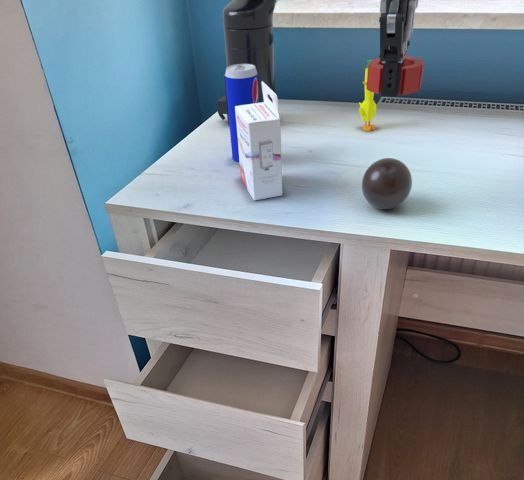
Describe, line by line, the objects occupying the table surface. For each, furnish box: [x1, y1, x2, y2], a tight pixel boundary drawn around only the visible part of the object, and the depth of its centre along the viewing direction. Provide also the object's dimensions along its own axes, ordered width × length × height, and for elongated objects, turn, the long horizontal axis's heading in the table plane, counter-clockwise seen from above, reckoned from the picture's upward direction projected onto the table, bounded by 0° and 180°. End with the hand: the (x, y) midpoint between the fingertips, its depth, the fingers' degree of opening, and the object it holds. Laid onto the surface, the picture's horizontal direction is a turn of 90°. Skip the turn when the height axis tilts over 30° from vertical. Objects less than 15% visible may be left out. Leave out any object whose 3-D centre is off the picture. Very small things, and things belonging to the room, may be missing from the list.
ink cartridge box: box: [235, 81, 283, 201], centre depth 78 cm, size 9×5×15 cm, turn 17°
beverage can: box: [224, 64, 259, 166], centre depth 87 cm, size 5×5×15 cm
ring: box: [367, 55, 425, 96], centre depth 67 cm, size 7×7×3 cm
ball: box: [361, 157, 413, 210], centre depth 74 cm, size 7×7×7 cm
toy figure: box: [358, 58, 377, 132], centre depth 97 cm, size 7×4×12 cm, turn 37°
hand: (390, 93), depth 66 cm, fingers closed on ring, 1 cm apart
